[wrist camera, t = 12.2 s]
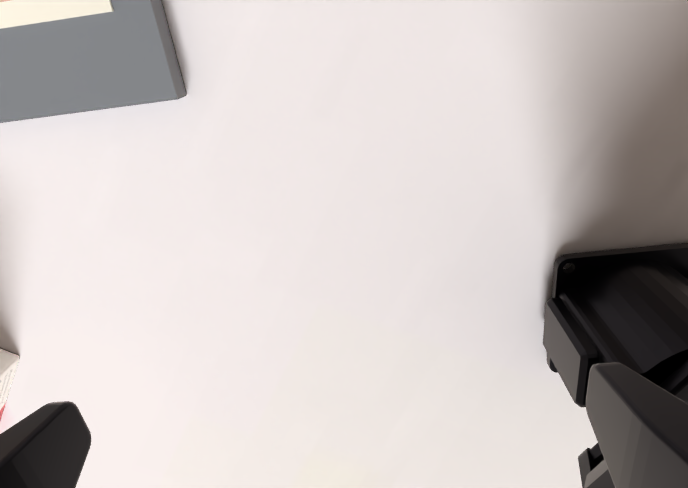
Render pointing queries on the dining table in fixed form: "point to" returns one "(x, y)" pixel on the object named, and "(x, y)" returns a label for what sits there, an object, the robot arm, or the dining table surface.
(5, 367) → the ink cartridge box
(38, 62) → the grey picture frame
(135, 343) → the dining table surface
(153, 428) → the dining table surface
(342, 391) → the dining table surface
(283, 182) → the dining table surface
